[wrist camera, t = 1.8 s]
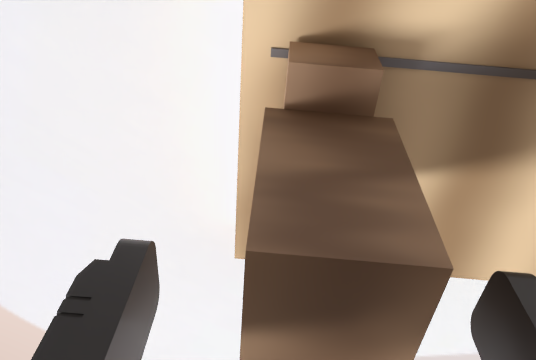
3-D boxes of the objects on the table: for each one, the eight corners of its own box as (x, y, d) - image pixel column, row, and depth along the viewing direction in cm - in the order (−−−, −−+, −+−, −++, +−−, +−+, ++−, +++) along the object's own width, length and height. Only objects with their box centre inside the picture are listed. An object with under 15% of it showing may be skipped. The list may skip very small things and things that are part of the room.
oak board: (847, -43, 15) (941, -29, 12) (624, 257, 23) (658, 296, 20) (253, -92, 15) (246, -87, 13) (240, 223, 23) (234, 259, 21)
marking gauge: (380, 29, 16) (481, 207, 7) (330, 267, 24) (350, 501, 15) (274, 20, 16) (248, 187, 8) (256, 261, 24) (232, 491, 15)
